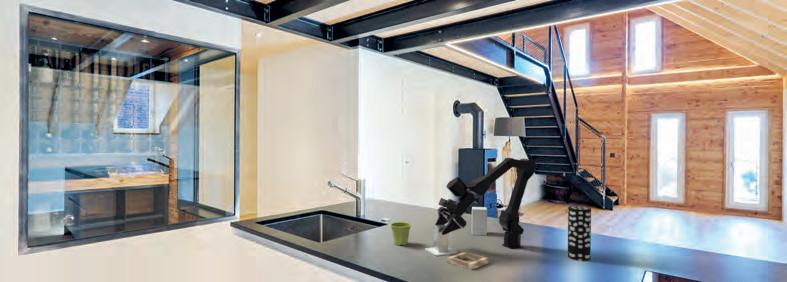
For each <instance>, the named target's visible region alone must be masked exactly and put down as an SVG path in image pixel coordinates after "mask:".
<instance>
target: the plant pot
mask: <svg viewBox="0 0 787 282" xmlns="http://www.w3.org/2000/svg"><path fill="white" fill-rule="evenodd" d="M389 224H390V228H391V231H392V238H393V244H394V245H396V246H401V245H402V246H406V245H408V243H409V238H410V236H409V235H410V230H411V227H412V224H411V223H409V222H405V221H404V222H403V221H397V222H392V223H389Z"/></svg>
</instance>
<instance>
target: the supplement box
mask: <svg viewBox="0 0 787 282" xmlns="http://www.w3.org/2000/svg"><path fill="white" fill-rule="evenodd" d="M487 229H488V208H487V207H484V206H472V207H471V235H475V236H487V234H488V230H487Z"/></svg>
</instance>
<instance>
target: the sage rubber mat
mask: <svg viewBox="0 0 787 282" xmlns="http://www.w3.org/2000/svg"><path fill="white" fill-rule="evenodd" d="M424 250H425V251H426V252H428V253H430V254H431V255H433V256H435V255H436V257H442V256H447V255H457V254H459V252H458V251H457V250H455V249H452V248H450V247H449V246H448V252H437V251H436V250H435V249H434V246H433V247H425V248H424Z"/></svg>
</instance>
